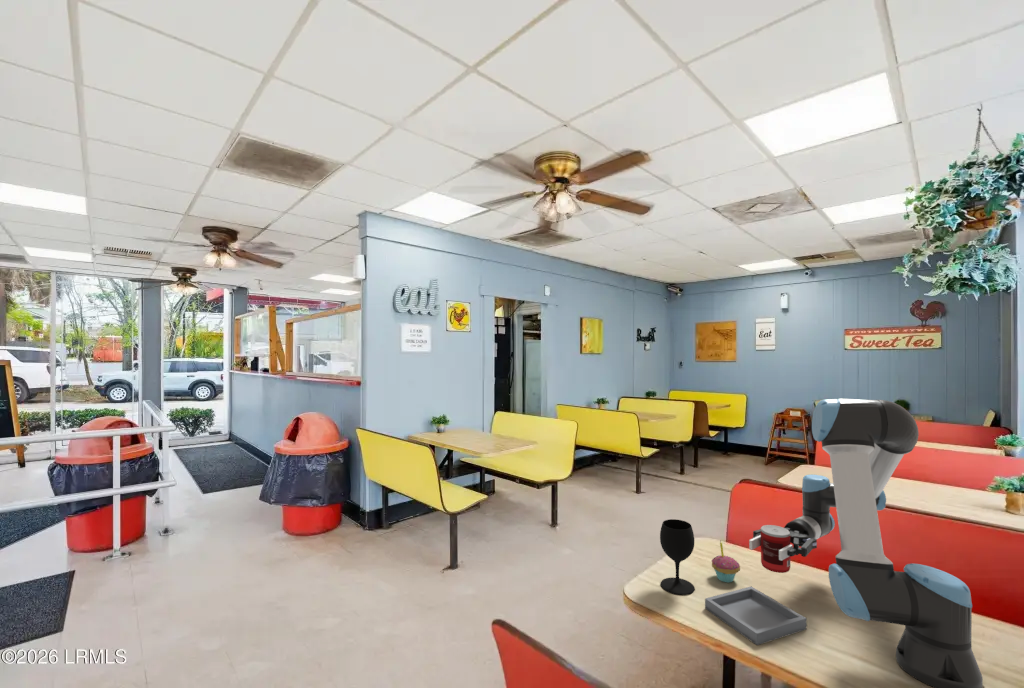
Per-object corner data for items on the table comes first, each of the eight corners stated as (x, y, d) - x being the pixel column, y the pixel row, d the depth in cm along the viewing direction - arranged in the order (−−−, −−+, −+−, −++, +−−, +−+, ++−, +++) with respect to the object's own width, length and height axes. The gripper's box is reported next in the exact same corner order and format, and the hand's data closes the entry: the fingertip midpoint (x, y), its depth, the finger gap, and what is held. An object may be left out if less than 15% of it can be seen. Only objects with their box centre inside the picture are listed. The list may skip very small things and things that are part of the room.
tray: (806, 629, 128) (806, 618, 128) (756, 645, 122) (756, 633, 122) (751, 596, 145) (751, 586, 145) (705, 608, 138) (705, 598, 138)
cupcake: (705, 575, 158) (705, 540, 158) (724, 570, 161) (723, 535, 161) (727, 587, 150) (727, 550, 150) (746, 581, 153) (745, 545, 153)
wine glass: (697, 583, 153) (696, 521, 153) (691, 598, 144) (691, 533, 144) (664, 575, 158) (663, 516, 158) (657, 590, 149) (656, 526, 149)
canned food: (783, 561, 143) (782, 525, 143) (795, 574, 135) (795, 535, 135) (756, 560, 144) (756, 524, 144) (767, 572, 136) (767, 534, 136)
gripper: (839, 554, 141) (803, 577, 128) (769, 532, 158) (731, 550, 145) (839, 529, 141) (803, 549, 128) (768, 510, 158) (730, 526, 145)
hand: (765, 550), depth 136 cm, fingers closed on canned food, 8 cm apart
